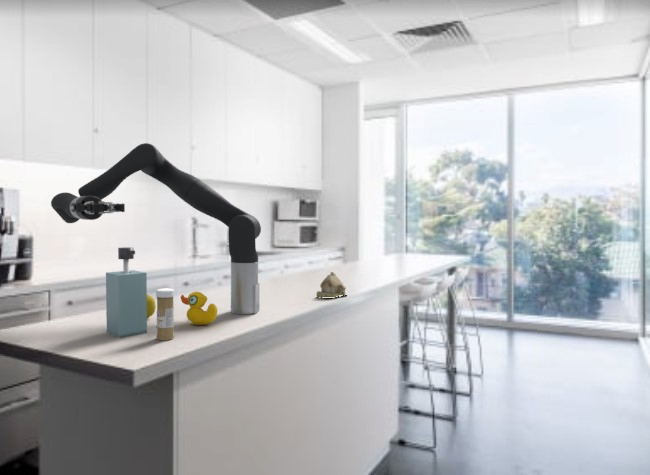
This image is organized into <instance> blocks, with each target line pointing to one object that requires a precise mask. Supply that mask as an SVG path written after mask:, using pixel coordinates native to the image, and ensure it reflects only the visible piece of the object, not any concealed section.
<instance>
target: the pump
mask: <svg viewBox="0 0 650 475" xmlns="http://www.w3.org/2000/svg"><path fill="white" fill-rule="evenodd" d="M117 252H118V254H117V255H118V257H117V258H118V259H117V260H122V261H123V263H122V265H123V266H122V267H123V270H122V271H124V273H129V271H130V266H129V265H130V260H132V259H133V260H134V259H135V256H134V255H136V250H134V247H118V248H117Z"/></svg>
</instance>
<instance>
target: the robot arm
mask: <svg viewBox="0 0 650 475" xmlns="http://www.w3.org/2000/svg"><path fill="white" fill-rule="evenodd" d="M140 171H141V172H142V174H143V173H144V174H145V175H147V176H149V177H150V178H151V177H152V179H155V180H156V181H158V182H160V183H161V184H163V185H165V186H167V188H169V190H171V191H172V193H174V194H175V195H176V196H178V198H180V200H182V201H183V202H184V203H186V204H187V205H189V206H190V207H192V208H193V209H195V210H197V211H198V212H200V213H201V214H204V215H206V216H209V217H210V218H213V219H215V220H217V221H219V222H221V223H223V225H225V226H226V227H227V228H228V231H227V232H228V233H227V234H228V235H227V236H228V253H229V256H230V313H232V314H235V315H249V314H250V315H251V314H257V313H258V312H259V311H260V291H261V290H260V288H261V287H260V283H259V255H258V252H257V248H256V239H257V238H259V237H260V234H261V231H262V225H261V223H260V221H259V220H258V218H256V217H255V216H254V215H252V214H250V213H248V212H246V211H244V210H243V209H241V208H239V207H238V206H235V205H234V204H232V203H231V202H230V201H229V200H228V199H226V198H225V197H223V195H221V194H220V193H219V192H217V191H216V190H215V189H213V188H212V187H211V186H210V185H208V184H207V183H205V182H203V181H202V180H201V179H199V178H198V177H196V176H195V175H192V174H190V173H187V172H186V171H183V170H180V169H179V168H178V167H176V166H175V165H174V164H173V163H171V162H170V161H169V160H168V159H167V158H166V157H165V156H164V155H163V154H162V153H161V152H160V151H159V149H158V148H157V147H156V146H155V145H154V144H152V143H148V142H145V143H140V144H138V145H137V146H136V147H134V148H133V149H132V150H130V152H128V153H127V154H126V155H124V157H122V158H121V159H120V160H119V161H118V162H116V163H115V164H114V165H112V166H111V167H110V168H109V169H107V170H106V171H104V172H103V173H101V174H100V175H99V176H97V177H95V178H93V179H92V180H90V181H88V182H87V183H85V184H84V185H82V186H81V187H79V188H78V189H77V190H78V191H77V192H78V196H77V195H75V194H73V193H71V192H61V193H57V194H56V195H55V196H53V198H52V199H51V200H50V201H51V202H50V206H51V207H52V209H53V210H54V212H56V214H57V215H58V216H59V218H61V219H62V220H63V222H65V223H66V224H75V223H77V222H78V221H79V220H89V221H93V220H94V221H95V220H97V219H99V218H101V217H102V215H105V214H114V213H121V212H122V213H125V212H126V209H125V208H126V207H125V205H126V204H125V203H119V202H118V203H113V202H112V201H107V202H106V201H103V200H104V199H105V198H107V197H108V196H109V195H111V194H112V193H114V191H116V190H117V188H118V187H119V186H120V185H121V184H122V183H123V182H124V181H125V180H126V179H127V178H128V177H130V176H131V175H133V174H135V173H137V172H140Z"/></svg>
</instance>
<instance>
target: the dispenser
mask: <svg viewBox="0 0 650 475" xmlns="http://www.w3.org/2000/svg"><path fill="white" fill-rule="evenodd" d="M147 286H148V285H147V272H144V271H140V270H135V269H132V270H129V273H124V270H121V271H119V270H118V271H109V272H105V288H106V289H105V296H106V297H105V299H106V301H105V302H106V303H105V304H106V305H105V306H106V307H105V309H106V316H105V318H106V333H108V334H110V335H112V336H115V337H117V338H124V337H130V336H134V335H136V336H137V335H140V334H145V333H146V334H147V333H148V319H147V294H148V293H147V291H148V290H147Z"/></svg>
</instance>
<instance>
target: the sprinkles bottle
mask: <svg viewBox="0 0 650 475" xmlns="http://www.w3.org/2000/svg"><path fill="white" fill-rule="evenodd" d="M155 291H156V292H155V296H156V302H157V303H156V306H157V307H156V340H158V341H167V340H173V339H174V338H175V335H174V325H175V323H174V321H175V320H174V319H175V318H174V316H175V314H174V313H175V311H174V310H175V308H174V297H175V289H173V288H165V287H164V288H158V289H156V290H155Z"/></svg>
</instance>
